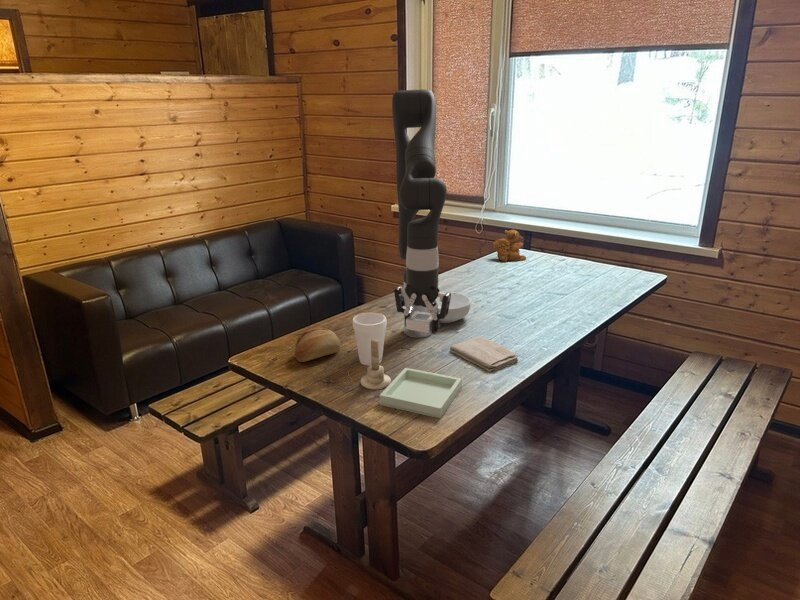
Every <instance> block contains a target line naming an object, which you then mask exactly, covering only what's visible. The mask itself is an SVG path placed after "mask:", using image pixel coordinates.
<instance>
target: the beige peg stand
mask: <svg viewBox="0 0 800 600" xmlns="http://www.w3.org/2000/svg"><path fill="white" fill-rule="evenodd" d="M371 362H372V365H371V366H368V367H367V368H366V371H367V372H366V374H365V375H364V376H362V377H361V379H360V385H361V386H362V387H363V388H365V389H368V390H374V391H376V390H382V389H386V388H387V387H388V386H389V385H390V383H391V382H392V378H391V377H390V376H389V375H387V374H385V368H384V366H383V365H380V363H379V341H378V340H371Z"/></svg>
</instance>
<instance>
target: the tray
mask: <svg viewBox="0 0 800 600" xmlns="http://www.w3.org/2000/svg"><path fill="white" fill-rule="evenodd" d="M462 388H463V378H460V377H455V376H451V375H450V376H449V375H446V374H441V373H435V372H429V371H425V370H420V369H415V368H409V367H405V368H404V369H402V371H400V373H399V374H397V376H396V377H395V378H394V379H393V380H391V383H390V385H389V386H388V387H386V388H384V390H383V391H382V392H381V393H380V394H379V405H380V406H384V407H388V408H392V409H397V410H398V409H399V410H402V411H406V412H411V413H416V414H418V415H423V416H429V417H433V418H437V419H441V418H442V417H443V416H444V414H445V413H446V411H447V410H448V408H449V407H450V405H451V404H452V403H453V402H454V400H455V398H456V397H457V396H458V395H459V393H460V391H461V390H462Z"/></svg>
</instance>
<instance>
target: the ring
mask: <svg viewBox="0 0 800 600" xmlns="http://www.w3.org/2000/svg"><path fill="white" fill-rule="evenodd" d="M432 320H433V318H432V316H431V313H426V312H419V311H415V312H414V313H413V314H412V315H411V316H409V317H408V318H407V319H406V329H409V330H415V331H421V332H427V333H430V332H431V331H432Z"/></svg>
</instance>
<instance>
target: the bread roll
mask: <svg viewBox="0 0 800 600" xmlns="http://www.w3.org/2000/svg"><path fill="white" fill-rule="evenodd" d="M341 347H342V345H341V340H340V338H339V337H338V336H337V335H336V333H335V332H334V331H332V330H330V329H329V328H324V327H314V328H310V329H308V330H305V331H303V332H302V333H301V334H300V335H299V337H297V341H296V343H295V345H294V357H295V359H296V361H297V362H299V363H301V362H302V363H305V362H309V361H312V360H315V359H319V358H322V357H324V356H328V355H332V354H336V353H338V352H339V350H340V349H341Z"/></svg>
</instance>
